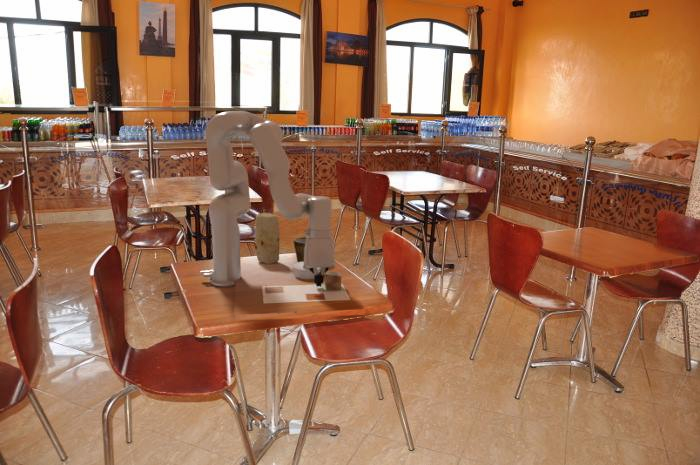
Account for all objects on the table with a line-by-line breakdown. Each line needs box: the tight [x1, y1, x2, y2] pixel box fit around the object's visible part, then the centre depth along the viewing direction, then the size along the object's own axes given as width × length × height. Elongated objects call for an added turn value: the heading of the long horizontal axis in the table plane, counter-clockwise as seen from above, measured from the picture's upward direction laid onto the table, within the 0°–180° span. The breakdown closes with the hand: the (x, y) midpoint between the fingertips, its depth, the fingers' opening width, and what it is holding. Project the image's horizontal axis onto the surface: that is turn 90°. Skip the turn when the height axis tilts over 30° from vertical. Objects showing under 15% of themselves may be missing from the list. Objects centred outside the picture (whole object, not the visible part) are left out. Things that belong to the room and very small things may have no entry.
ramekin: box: [292, 261, 321, 280], centre depth 208 cm, size 11×11×5 cm
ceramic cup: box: [293, 236, 307, 263], centre depth 226 cm, size 13×10×10 cm
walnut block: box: [324, 271, 342, 291], centre depth 194 cm, size 5×5×5 cm
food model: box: [254, 212, 281, 265], centre depth 224 cm, size 10×7×20 cm
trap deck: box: [261, 283, 351, 304], centre depth 189 cm, size 28×16×2 cm, turn 100°
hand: (318, 285), depth 194 cm, fingers closed
